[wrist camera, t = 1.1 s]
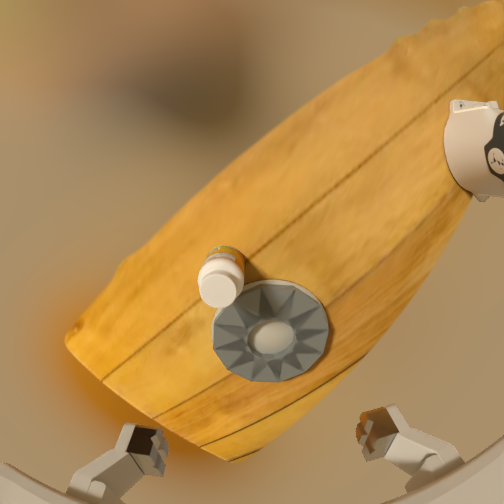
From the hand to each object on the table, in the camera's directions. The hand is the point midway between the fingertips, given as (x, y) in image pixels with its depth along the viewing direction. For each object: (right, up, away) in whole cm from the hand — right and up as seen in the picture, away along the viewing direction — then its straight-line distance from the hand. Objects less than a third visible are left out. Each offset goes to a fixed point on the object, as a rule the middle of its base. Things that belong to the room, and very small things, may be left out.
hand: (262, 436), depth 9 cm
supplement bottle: (-4, +6, +29) cm, 30 cm away
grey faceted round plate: (+2, -5, +32) cm, 32 cm away
